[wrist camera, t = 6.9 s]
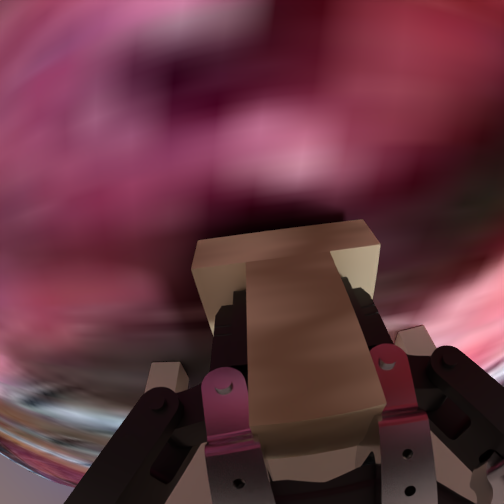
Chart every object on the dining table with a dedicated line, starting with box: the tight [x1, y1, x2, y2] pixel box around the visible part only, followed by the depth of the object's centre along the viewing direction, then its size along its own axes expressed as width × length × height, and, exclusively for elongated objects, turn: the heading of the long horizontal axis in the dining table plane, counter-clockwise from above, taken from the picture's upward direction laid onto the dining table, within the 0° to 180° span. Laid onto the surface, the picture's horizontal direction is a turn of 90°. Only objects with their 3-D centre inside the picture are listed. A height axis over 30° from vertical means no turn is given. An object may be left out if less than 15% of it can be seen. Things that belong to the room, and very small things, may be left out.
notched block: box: [144, 325, 477, 504], centre depth 12 cm, size 19×8×16 cm, turn 98°
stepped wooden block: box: [191, 219, 387, 460], centre depth 13 cm, size 7×17×8 cm, turn 8°
